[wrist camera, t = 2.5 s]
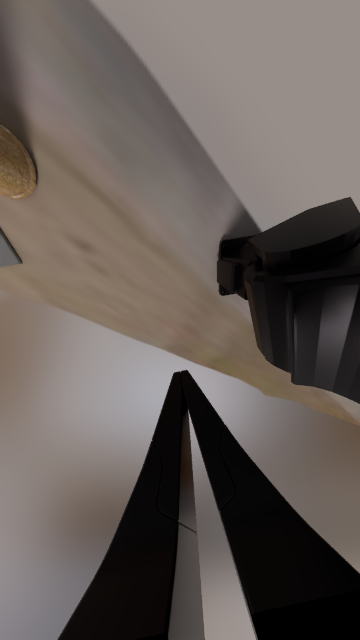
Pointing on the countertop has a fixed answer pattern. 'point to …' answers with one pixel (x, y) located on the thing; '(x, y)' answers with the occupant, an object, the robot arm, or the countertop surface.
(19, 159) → the sprinkles bottle
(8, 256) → the mat
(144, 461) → the robot arm
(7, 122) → the countertop surface
